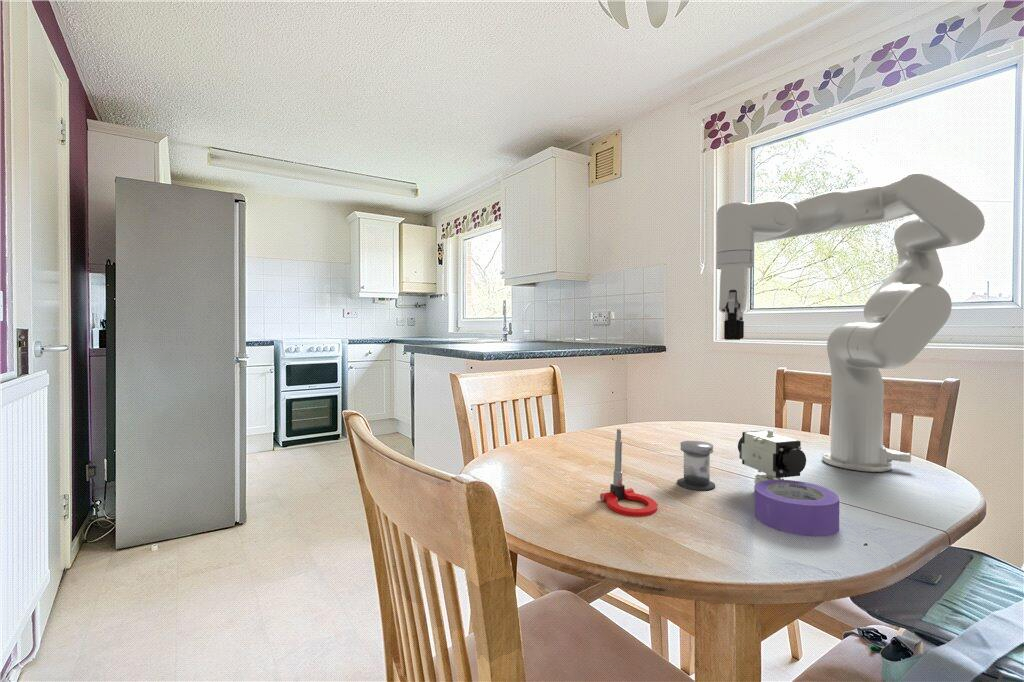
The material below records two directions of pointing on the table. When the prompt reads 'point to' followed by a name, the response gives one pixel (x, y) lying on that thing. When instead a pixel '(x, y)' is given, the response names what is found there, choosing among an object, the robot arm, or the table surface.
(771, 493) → the tape roll
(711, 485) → the pad
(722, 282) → the robot arm
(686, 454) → the cylinder
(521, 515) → the table surface
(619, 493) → the tow hook
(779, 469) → the pneumatic valve
